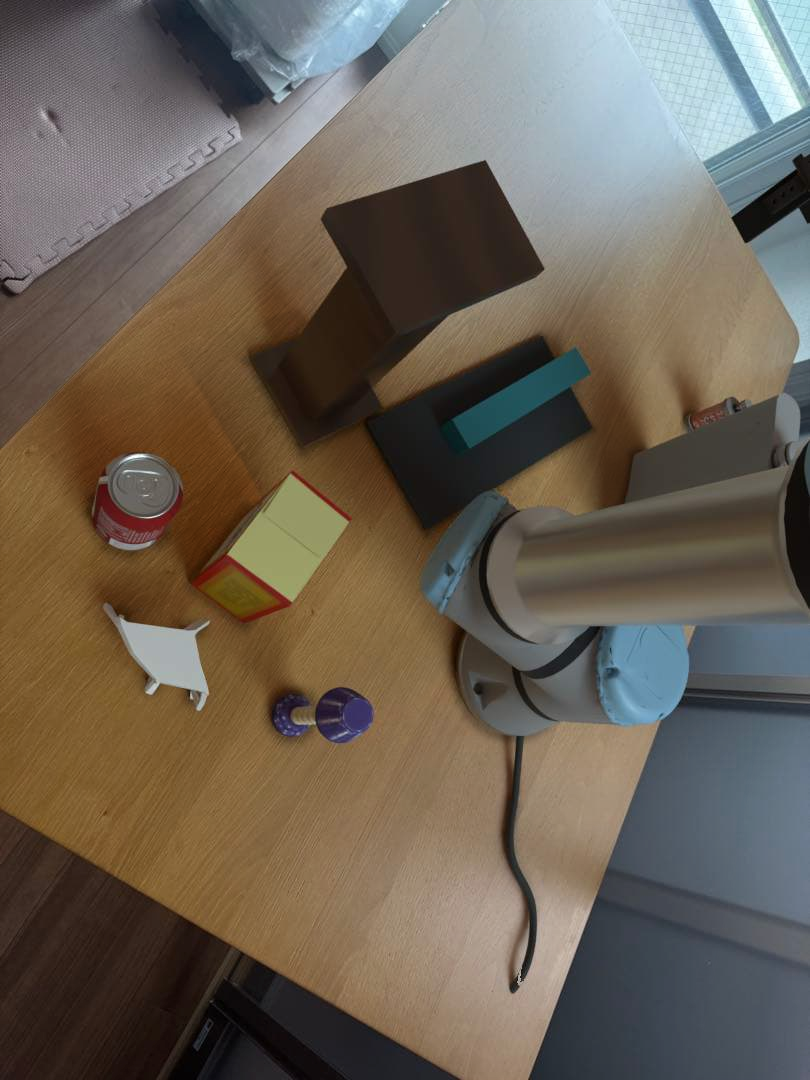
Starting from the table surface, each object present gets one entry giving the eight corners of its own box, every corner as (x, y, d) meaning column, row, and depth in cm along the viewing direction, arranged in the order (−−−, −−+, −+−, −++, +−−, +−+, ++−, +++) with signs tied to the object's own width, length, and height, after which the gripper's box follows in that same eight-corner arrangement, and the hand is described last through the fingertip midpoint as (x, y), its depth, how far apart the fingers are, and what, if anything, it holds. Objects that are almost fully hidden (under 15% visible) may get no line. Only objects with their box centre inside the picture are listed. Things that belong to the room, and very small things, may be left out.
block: (562, 356, 97) (576, 346, 95) (577, 382, 98) (591, 373, 95) (439, 427, 87) (451, 418, 84) (456, 456, 87) (469, 448, 84)
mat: (539, 337, 97) (542, 335, 97) (590, 429, 98) (592, 428, 97) (364, 423, 83) (366, 422, 82) (424, 530, 84) (427, 529, 83)
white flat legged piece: (232, 634, 72) (244, 630, 68) (194, 715, 69) (204, 716, 65) (116, 581, 68) (121, 573, 64) (71, 663, 65) (73, 661, 61)
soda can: (155, 560, 70) (174, 535, 60) (81, 540, 68) (88, 511, 57) (174, 495, 72) (196, 460, 62) (103, 474, 70) (113, 433, 59)
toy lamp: (283, 681, 73) (342, 677, 59) (323, 699, 75) (391, 699, 60) (264, 727, 72) (320, 735, 57) (306, 744, 73) (371, 756, 58)
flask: (629, 573, 96) (802, 535, 74) (603, 556, 95) (772, 513, 73) (660, 465, 102) (828, 401, 80) (636, 448, 101) (800, 378, 79)
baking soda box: (243, 623, 73) (291, 605, 59) (190, 584, 71) (225, 555, 57) (296, 550, 77) (353, 517, 62) (247, 511, 75) (293, 468, 61)
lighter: (680, 422, 106) (738, 397, 97) (692, 410, 107) (749, 385, 99) (710, 466, 107) (770, 446, 98) (721, 454, 108) (781, 433, 100)
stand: (348, 320, 85) (482, 153, 59) (395, 403, 85) (548, 274, 59) (229, 368, 77) (322, 201, 51) (281, 458, 78) (400, 339, 52)
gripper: (1053, -4, 60) (808, 174, 77) (963, -23, 46) (688, 201, 63) (1097, 75, 60) (842, 236, 77) (1021, 81, 46) (729, 276, 63)
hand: (772, 220), depth 70 cm, fingers open, 13 cm apart
